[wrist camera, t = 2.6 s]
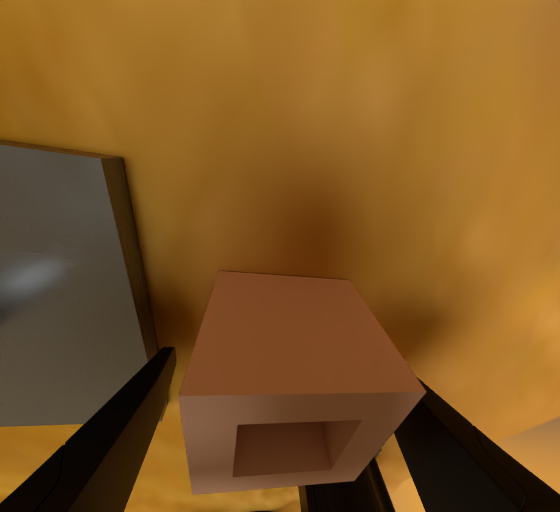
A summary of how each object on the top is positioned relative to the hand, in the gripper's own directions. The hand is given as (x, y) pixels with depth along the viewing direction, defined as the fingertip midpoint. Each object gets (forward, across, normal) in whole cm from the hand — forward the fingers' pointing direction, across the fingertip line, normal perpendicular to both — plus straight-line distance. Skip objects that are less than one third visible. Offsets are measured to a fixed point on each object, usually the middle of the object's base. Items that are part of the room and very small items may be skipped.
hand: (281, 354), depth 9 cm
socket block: (+2, 0, 0) cm, 2 cm away
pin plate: (+2, +13, 0) cm, 13 cm away
